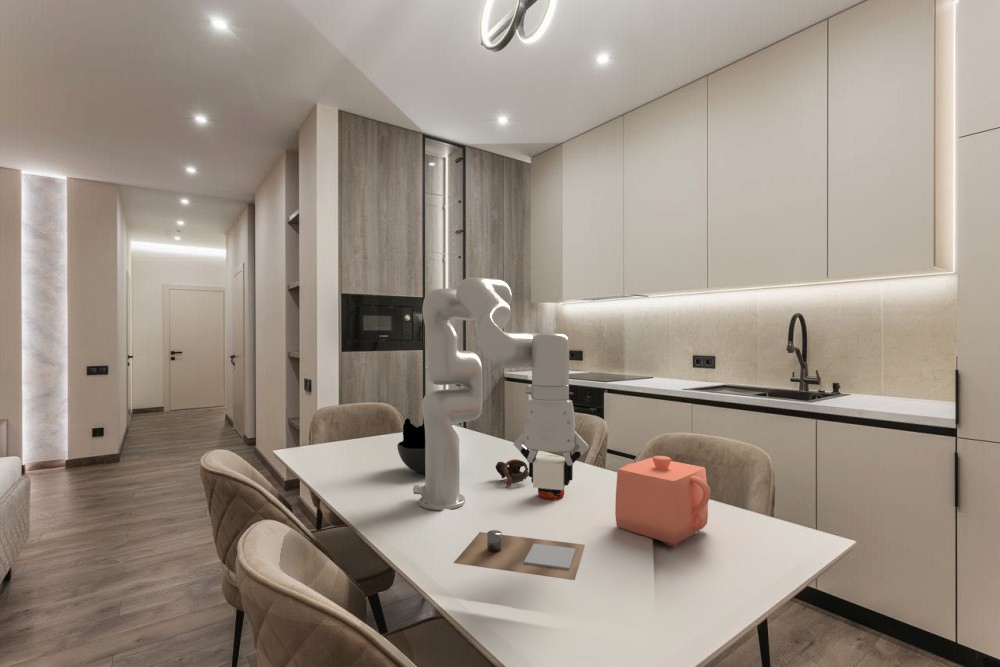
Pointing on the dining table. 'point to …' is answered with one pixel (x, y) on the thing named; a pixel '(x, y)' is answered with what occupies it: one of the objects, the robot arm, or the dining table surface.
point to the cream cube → (549, 472)
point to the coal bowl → (413, 446)
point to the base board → (517, 556)
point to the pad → (550, 556)
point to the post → (494, 541)
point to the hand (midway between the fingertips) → (550, 481)
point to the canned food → (550, 492)
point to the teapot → (662, 499)
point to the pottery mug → (512, 471)
